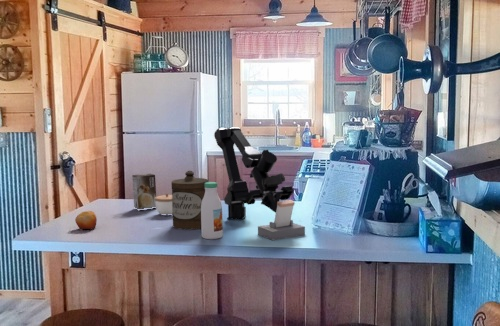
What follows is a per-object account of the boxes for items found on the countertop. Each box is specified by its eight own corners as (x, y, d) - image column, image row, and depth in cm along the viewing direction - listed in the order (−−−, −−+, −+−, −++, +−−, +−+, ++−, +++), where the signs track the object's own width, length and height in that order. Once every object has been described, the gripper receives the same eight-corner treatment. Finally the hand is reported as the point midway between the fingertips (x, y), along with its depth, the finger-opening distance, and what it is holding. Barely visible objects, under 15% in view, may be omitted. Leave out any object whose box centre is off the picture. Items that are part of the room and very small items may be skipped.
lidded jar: (151, 214, 238) (150, 193, 237) (172, 210, 244) (171, 190, 243) (162, 218, 229) (161, 196, 228) (184, 214, 236) (183, 193, 234)
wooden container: (166, 228, 210) (164, 172, 208) (183, 220, 224) (181, 168, 222) (200, 231, 205) (198, 173, 203) (216, 222, 219) (214, 169, 217)
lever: (272, 225, 196) (277, 201, 193) (286, 223, 199) (291, 199, 196) (276, 229, 195) (280, 204, 191) (289, 226, 198) (294, 202, 194)
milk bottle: (206, 240, 191) (205, 185, 188) (198, 236, 197) (196, 182, 195) (226, 237, 194) (225, 183, 192) (217, 233, 201) (216, 180, 199)
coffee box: (152, 206, 254) (151, 173, 252) (157, 209, 249) (155, 174, 247) (133, 209, 249) (132, 174, 248) (137, 211, 244) (136, 176, 242)
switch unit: (258, 234, 198) (257, 221, 198) (289, 229, 205) (289, 216, 205) (272, 240, 190) (272, 226, 189) (304, 234, 197) (304, 221, 196)
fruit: (104, 222, 216) (97, 207, 211) (94, 236, 210) (87, 221, 206) (87, 221, 219) (79, 206, 214) (77, 235, 213) (69, 220, 208)
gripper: (249, 168, 196) (265, 203, 188) (291, 164, 205) (308, 197, 197) (238, 186, 203) (254, 221, 195) (279, 182, 213) (296, 215, 205)
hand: (278, 213), depth 198 cm, fingers closed
